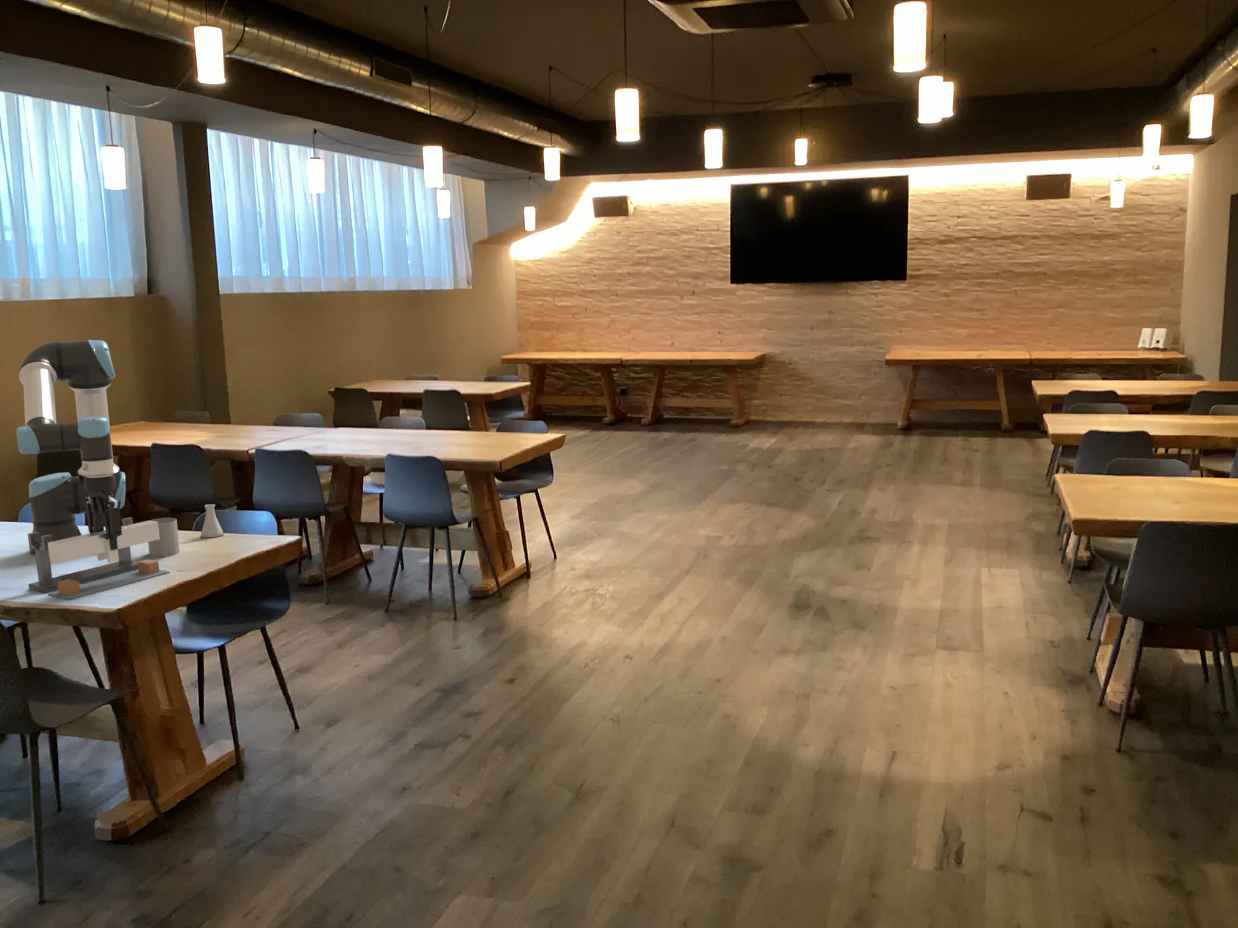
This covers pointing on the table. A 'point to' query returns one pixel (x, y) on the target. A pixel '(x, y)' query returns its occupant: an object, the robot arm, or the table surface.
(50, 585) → the hook stand
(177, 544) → the cup
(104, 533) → the white bar
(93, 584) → the mat
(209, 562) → the table surface
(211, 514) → the flask
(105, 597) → the table surface
